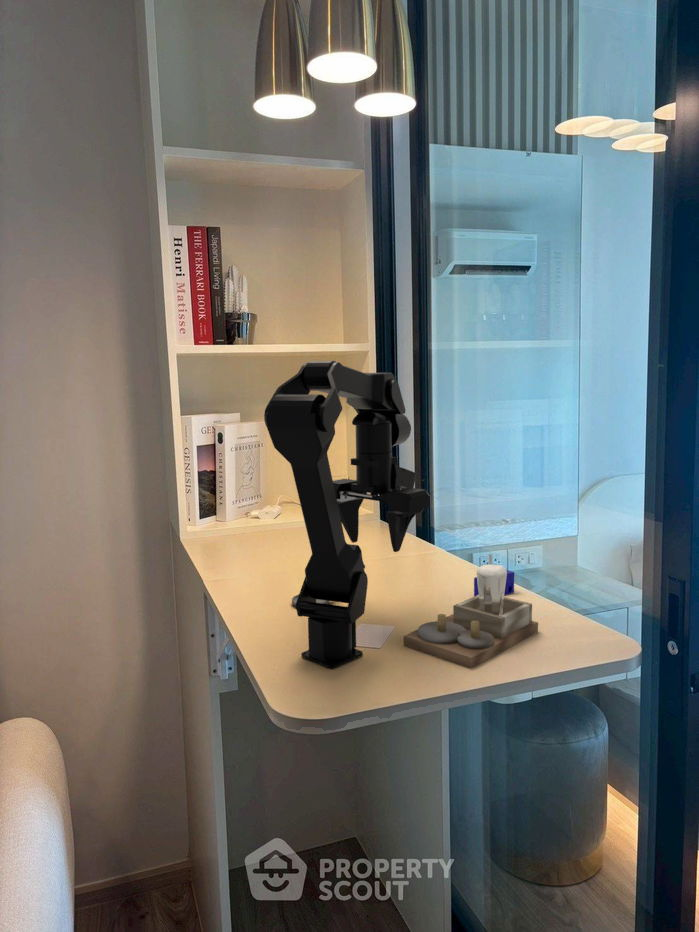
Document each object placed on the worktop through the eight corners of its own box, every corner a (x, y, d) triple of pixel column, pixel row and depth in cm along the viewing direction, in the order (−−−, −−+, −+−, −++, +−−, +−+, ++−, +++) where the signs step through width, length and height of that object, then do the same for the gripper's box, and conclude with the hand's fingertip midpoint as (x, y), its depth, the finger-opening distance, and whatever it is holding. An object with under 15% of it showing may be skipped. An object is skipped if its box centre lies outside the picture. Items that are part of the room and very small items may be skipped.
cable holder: (499, 588, 132) (500, 567, 131) (513, 593, 129) (514, 572, 128) (468, 597, 127) (468, 575, 127) (482, 602, 124) (482, 580, 124)
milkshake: (504, 616, 112) (505, 554, 111) (507, 628, 107) (508, 563, 105) (475, 615, 113) (475, 554, 111) (476, 627, 107) (477, 563, 106)
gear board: (471, 668, 97) (471, 636, 96) (403, 645, 105) (403, 616, 105) (537, 631, 110) (538, 603, 109) (473, 613, 118) (473, 587, 117)
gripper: (451, 450, 113) (451, 546, 115) (365, 443, 125) (366, 529, 128) (406, 458, 105) (407, 560, 107) (319, 449, 118) (321, 541, 120)
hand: (375, 546), depth 115 cm, fingers open, 9 cm apart
